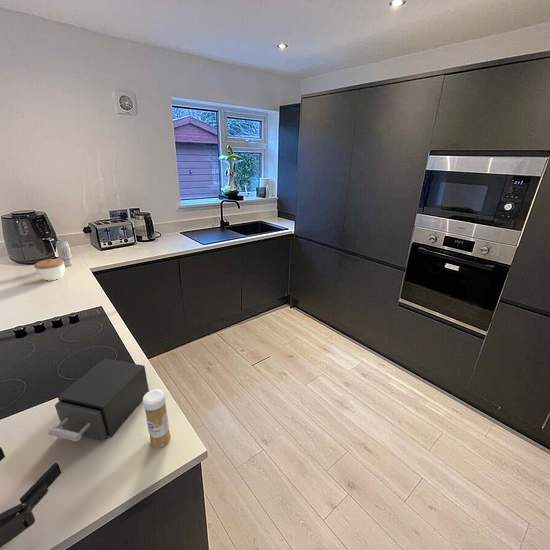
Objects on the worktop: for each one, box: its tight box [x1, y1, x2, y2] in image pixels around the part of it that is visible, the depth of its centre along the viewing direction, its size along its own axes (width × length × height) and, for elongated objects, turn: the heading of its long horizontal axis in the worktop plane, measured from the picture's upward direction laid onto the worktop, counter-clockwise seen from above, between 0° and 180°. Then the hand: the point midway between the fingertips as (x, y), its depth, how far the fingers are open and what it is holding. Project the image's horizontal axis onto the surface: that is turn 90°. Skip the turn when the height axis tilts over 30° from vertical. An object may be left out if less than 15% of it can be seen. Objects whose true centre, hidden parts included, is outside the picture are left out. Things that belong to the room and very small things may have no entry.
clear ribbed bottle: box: [55, 239, 74, 267], centre depth 172 cm, size 6×6×15 cm
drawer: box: [48, 400, 107, 442], centre depth 70 cm, size 18×11×8 cm, turn 167°
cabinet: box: [57, 357, 150, 438], centre depth 74 cm, size 15×13×10 cm
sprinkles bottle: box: [142, 388, 172, 449], centre depth 65 cm, size 5×5×13 cm
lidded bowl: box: [33, 258, 66, 282], centre depth 154 cm, size 13×13×11 cm
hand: (29, 459), depth 56 cm, fingers open, 13 cm apart
